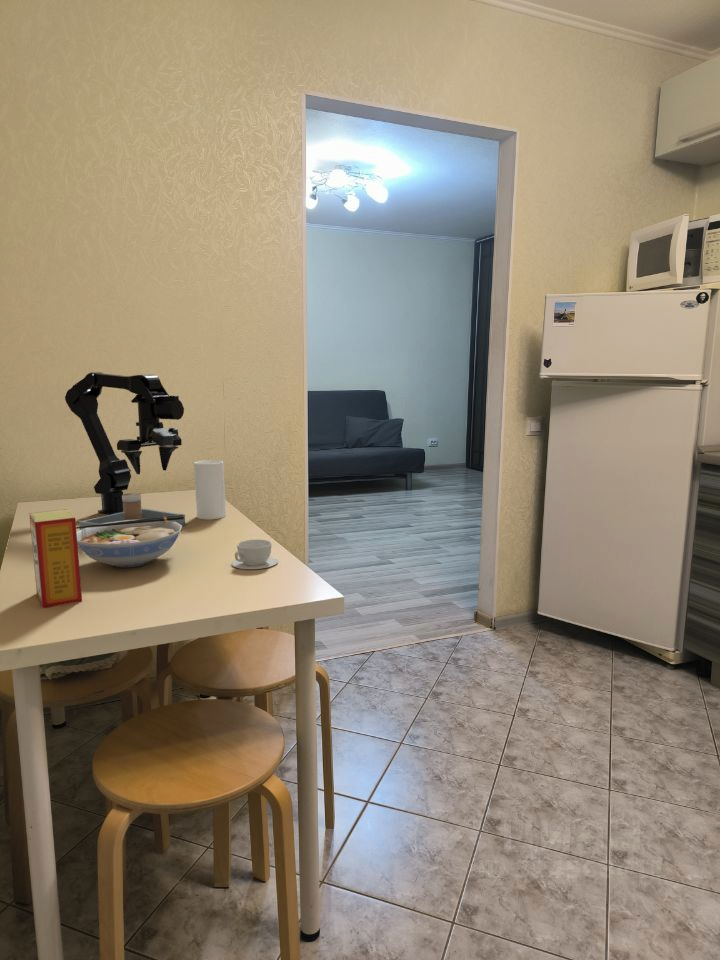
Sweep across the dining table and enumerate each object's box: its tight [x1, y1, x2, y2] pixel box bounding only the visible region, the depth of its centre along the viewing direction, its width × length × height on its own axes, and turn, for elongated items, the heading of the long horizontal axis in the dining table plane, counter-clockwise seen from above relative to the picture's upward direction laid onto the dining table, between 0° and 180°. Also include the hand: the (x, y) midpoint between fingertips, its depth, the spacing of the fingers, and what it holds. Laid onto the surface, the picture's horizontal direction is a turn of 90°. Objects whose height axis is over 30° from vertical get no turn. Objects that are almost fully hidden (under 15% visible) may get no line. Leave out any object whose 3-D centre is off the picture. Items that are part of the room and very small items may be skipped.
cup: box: [193, 459, 227, 520], centre depth 190 cm, size 8×8×16 cm
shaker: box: [122, 492, 142, 520], centre depth 176 cm, size 5×5×8 cm
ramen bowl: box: [76, 515, 184, 569], centre depth 144 cm, size 25×23×8 cm
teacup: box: [231, 539, 279, 570], centre depth 142 cm, size 10×10×5 cm
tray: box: [78, 507, 186, 530], centre depth 176 cm, size 18×20×3 cm
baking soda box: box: [28, 509, 83, 609], centre depth 121 cm, size 10×6×16 cm
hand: (151, 472), depth 191 cm, fingers open, 9 cm apart
